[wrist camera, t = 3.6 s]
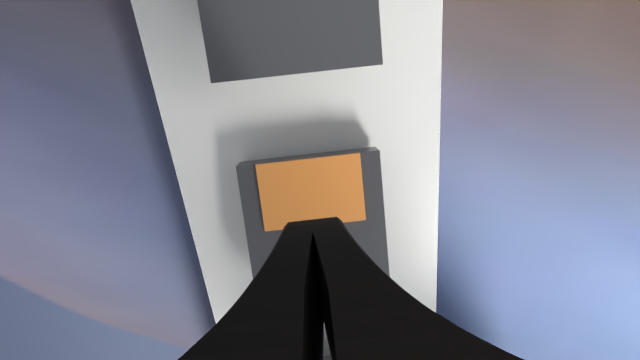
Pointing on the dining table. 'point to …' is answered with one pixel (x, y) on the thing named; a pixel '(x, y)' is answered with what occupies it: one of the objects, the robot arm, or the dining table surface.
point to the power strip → (301, 135)
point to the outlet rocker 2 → (314, 198)
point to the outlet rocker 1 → (288, 36)
